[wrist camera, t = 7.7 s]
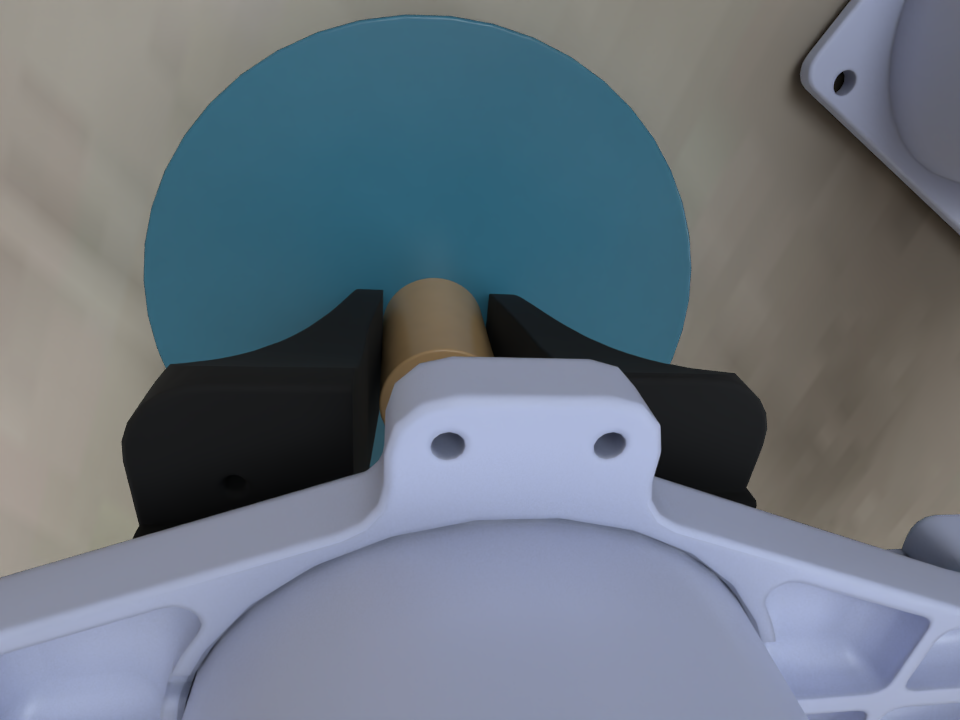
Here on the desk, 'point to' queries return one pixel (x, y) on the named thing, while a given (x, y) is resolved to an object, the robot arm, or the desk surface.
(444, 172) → the lid
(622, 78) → the desk surface
